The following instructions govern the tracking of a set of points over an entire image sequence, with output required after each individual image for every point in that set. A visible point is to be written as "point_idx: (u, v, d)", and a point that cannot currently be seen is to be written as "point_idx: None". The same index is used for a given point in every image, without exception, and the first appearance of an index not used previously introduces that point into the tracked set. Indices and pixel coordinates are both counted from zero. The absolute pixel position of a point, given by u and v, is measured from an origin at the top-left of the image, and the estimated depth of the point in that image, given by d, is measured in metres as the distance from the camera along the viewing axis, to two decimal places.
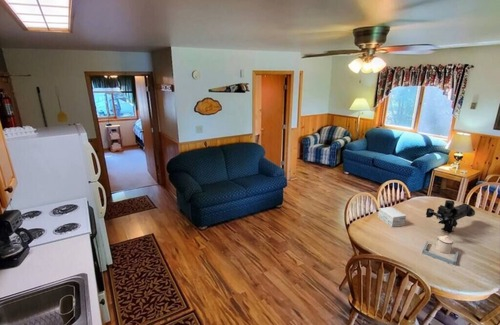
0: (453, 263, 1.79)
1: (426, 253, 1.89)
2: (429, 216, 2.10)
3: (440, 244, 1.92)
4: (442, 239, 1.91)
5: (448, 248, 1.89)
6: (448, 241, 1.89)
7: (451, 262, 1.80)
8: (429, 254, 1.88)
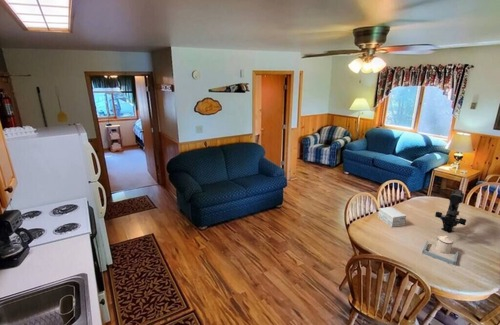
0: (453, 263, 1.79)
1: (426, 253, 1.89)
2: (444, 222, 2.04)
3: (440, 244, 1.92)
4: (442, 239, 1.91)
5: (448, 248, 1.89)
6: (448, 241, 1.89)
7: (451, 262, 1.80)
8: (429, 254, 1.88)
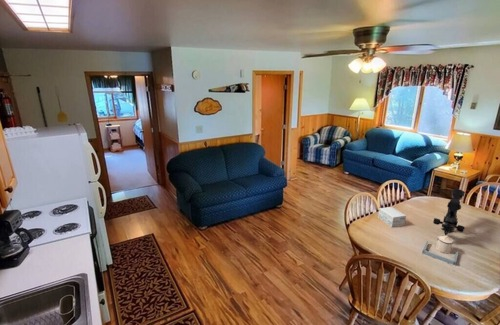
0: (453, 263, 1.79)
1: (426, 253, 1.89)
2: (446, 230, 2.01)
3: (440, 244, 1.92)
4: (442, 239, 1.91)
5: (448, 248, 1.89)
6: (448, 241, 1.89)
7: (451, 262, 1.80)
8: (429, 254, 1.88)
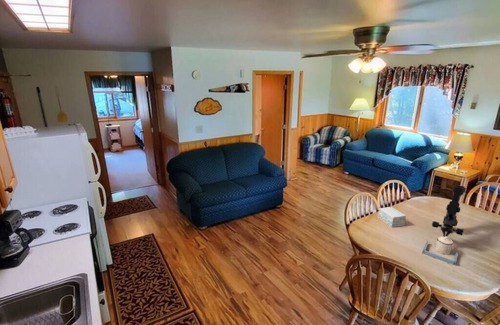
0: (453, 263, 1.79)
1: (426, 253, 1.89)
2: None
3: (440, 245, 1.91)
4: (442, 240, 1.90)
5: (448, 249, 1.88)
6: (448, 242, 1.88)
7: (451, 262, 1.80)
8: (429, 254, 1.88)
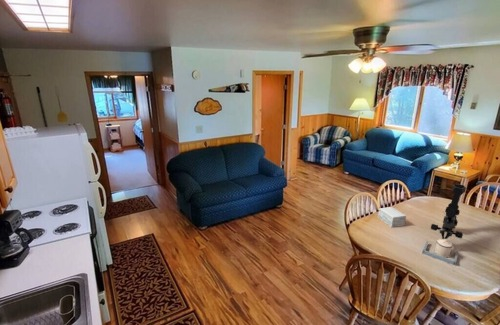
0: (453, 263, 1.79)
1: (426, 253, 1.89)
2: None
3: (438, 247, 1.88)
4: (441, 242, 1.87)
5: (447, 252, 1.85)
6: (447, 245, 1.85)
7: (451, 262, 1.80)
8: (429, 254, 1.88)
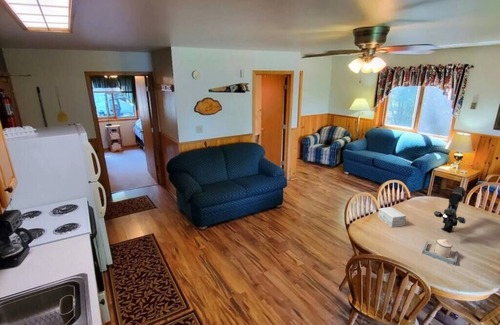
0: (453, 263, 1.79)
1: (426, 253, 1.89)
2: (447, 222, 2.02)
3: (438, 247, 1.88)
4: (441, 242, 1.87)
5: (447, 252, 1.85)
6: (447, 245, 1.85)
7: (451, 262, 1.80)
8: (429, 254, 1.88)
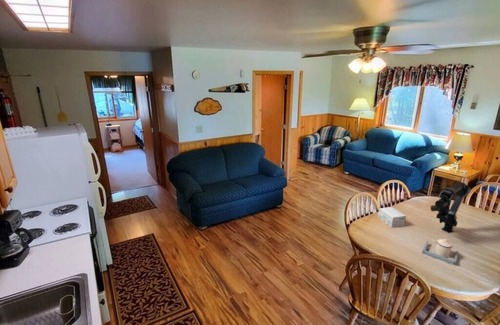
0: (453, 263, 1.79)
1: (426, 253, 1.89)
2: None
3: (438, 247, 1.88)
4: (441, 242, 1.87)
5: (447, 252, 1.85)
6: (447, 245, 1.85)
7: (451, 262, 1.80)
8: (429, 254, 1.88)
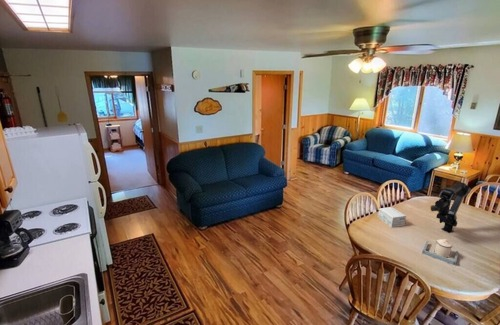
0: (453, 263, 1.79)
1: (426, 253, 1.89)
2: None
3: (438, 247, 1.88)
4: (441, 242, 1.87)
5: (447, 252, 1.85)
6: (447, 245, 1.85)
7: (451, 262, 1.80)
8: (429, 254, 1.88)
